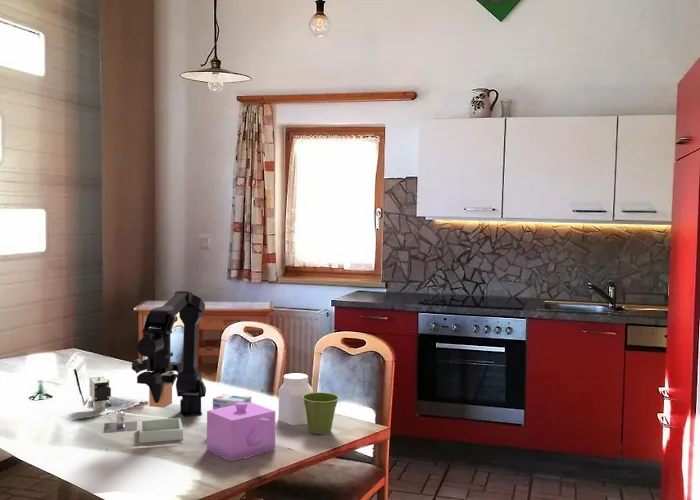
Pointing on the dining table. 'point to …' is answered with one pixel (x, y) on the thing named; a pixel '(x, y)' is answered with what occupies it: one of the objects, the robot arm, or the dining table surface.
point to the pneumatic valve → (99, 392)
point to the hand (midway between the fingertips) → (160, 400)
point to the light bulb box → (228, 400)
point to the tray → (160, 430)
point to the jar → (293, 399)
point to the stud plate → (114, 427)
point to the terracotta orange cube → (162, 396)
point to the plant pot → (320, 411)
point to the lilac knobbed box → (240, 430)
